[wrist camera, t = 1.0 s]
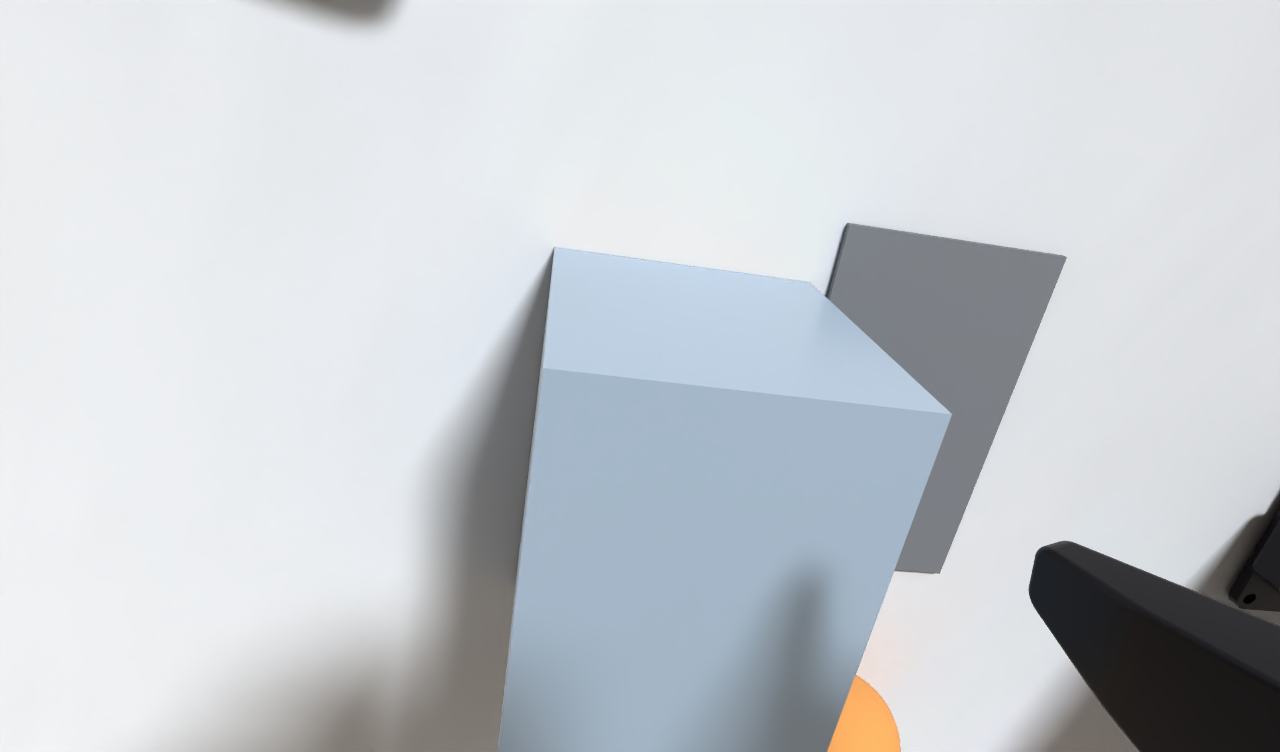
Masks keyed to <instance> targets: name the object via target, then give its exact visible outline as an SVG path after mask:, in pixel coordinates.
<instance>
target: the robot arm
mask: <svg viewBox="0 0 1280 752" xmlns="http://www.w3.org/2000/svg"><path fill="white" fill-rule="evenodd" d="M1029 596H1030V599H1031V602H1032V604H1033V606H1034V608H1035V609H1036V611H1037V612H1038V614H1039V615H1040V617H1041V618H1042V619H1043V621H1044V622H1045V624H1046V625H1047V627H1048V628H1049V630H1050V631H1051V633H1052V634H1053V635H1054V637H1055V638H1056V640H1057V641H1058V643H1059V644H1060V646H1061V647H1062V649H1063V650H1064V651H1065V653H1066V654H1067V656H1068V657H1069V659H1070V660H1071V662H1072V663H1073V665H1074V666H1075V668H1076V669H1077V670H1078V672H1079V673H1080V675H1081V676H1082V678H1083V679H1084V681H1085V682H1086V684H1087V685H1088V686H1089V688H1090V689H1091V691H1092V692H1093V694H1094V695H1095V696H1096V698H1097V699H1098V700H1099V702H1100V703H1101V704H1102V706H1103V707H1104V708H1105V710H1106V711H1107V712H1108V713H1109V715H1110V716H1111V717H1112V719H1113V720H1114V721H1115V722H1116V724H1117V725H1118V726H1119V727H1120V728H1121V730H1122V731H1123V732H1124V733H1125V734H1126V736H1127V737H1128V738H1129V739H1130V741H1131V742H1132V743H1133V744H1134V745H1135V747H1136V748H1137V749H1138V750H1139V751H1140V752H1280V625H1277V624H1275V623H1272V622H1270V621H1267V620H1265V619H1262V618H1260V617H1257V616H1255V615H1252V614H1250V613H1247V612H1245V611H1242V610H1240V609H1238V608H1235V607H1233V606H1230V605H1228V604H1225V603H1223V602H1220V601H1218V600H1215V599H1213V598H1210V597H1208V596H1205V595H1203V594H1200V593H1198V592H1195V591H1193V590H1190V589H1188V588H1186V587H1183V586H1181V585H1178V584H1176V583H1173V582H1171V581H1168V580H1166V579H1163V578H1161V577H1158V576H1156V575H1153V574H1151V573H1148V572H1146V571H1143V570H1141V569H1138V568H1136V567H1133V566H1131V565H1129V564H1126V563H1124V562H1121V561H1119V560H1116V559H1114V558H1111V557H1109V556H1106V555H1104V554H1101V553H1099V552H1096V551H1094V550H1091V549H1089V548H1086V547H1084V546H1081V545H1079V544H1077V543H1074V542H1070V541H1060V542H1057V543H1053V544H1050V545H1047V546H1044V547H1041V548H1040V549H1039V550H1038V551H1037V553H1036V555H1035V560H1034V565H1033V570H1032V575H1031V579H1030V584H1029ZM1228 596H1229V599H1230V600H1231V601H1232V602H1233V603H1234V604H1236V605H1237V606H1238V607H1239V608H1242V609H1251V610H1264V611H1277V612H1280V509H1279V511H1278V512H1277V514H1276V516H1275V517H1274V519H1273V521H1272V522H1271V524H1270V526H1269V527H1268V529H1267V531H1266V532H1265V534H1264V536H1263V537H1262V539H1261V541H1260V542H1259V544H1258V545H1257V547H1256V549H1255V550H1254V552H1253V554H1252V555H1251V557H1250V559H1249V560H1248V562H1247V564H1246V565H1245V567H1244V569H1243V570H1242V572H1241V574H1240V575H1239V577H1238V578H1237V580H1236V582H1235V583H1234V585H1233V587H1232V588H1231V590H1230V592H1229V595H1228Z"/></svg>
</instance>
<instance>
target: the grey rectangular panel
mask: <svg viewBox="0 0 1280 752" xmlns="http://www.w3.org/2000/svg"><path fill="white" fill-rule="evenodd" d="M1066 258H1067V257H1065V256H1062V255H1056V254H1049V253H1043V252H1036V251H1029V250H1023V249H1016V248H1010V247H1003V246H996V245H990V244H983V243H977V242H970V241H963V240H957V239H950V238H944V237H937V236H930V235H924V234H917V233H911V232H904V231H897V230H891V229H884V228H878V227H871V226H864V225H858V224H851V223H847V227H846V231H845V234H844V238H843V242H842V245H841V249H840V252H839V256H838V260H837V263H836V267H835V271H834V274H833V278H832V282H831V285H830V289H829V293H828V296H827V299H829V300H830V301H831V302H832V303H833V304H834V305H835V306H836V307H837V308H838V309H839V310H840V311H841V312H843V313H844V314H845V315H846V316H847V317H848V318H849V319H850V320H851V321H852V322H853V323H854V324H855V325H857V326H858V327H859V328H860V329H861V330H862V331H863V332H864V333H865V334H866V335H867V336H868V337H869V338H871V339H872V340H873V341H874V342H875V343H876V344H877V345H878V346H879V347H880V348H881V349H882V350H883V351H885V352H886V353H887V354H888V355H889V356H890V357H891V358H892V359H893V360H894V361H895V362H896V363H897V364H898V365H900V366H901V367H902V368H903V369H904V370H905V371H906V372H907V373H908V374H909V375H910V376H911V377H912V378H914V379H915V380H916V381H917V382H918V383H919V384H920V385H921V386H922V387H923V388H924V389H925V390H926V391H928V392H929V393H930V394H931V395H932V396H933V397H934V398H935V399H936V400H937V401H938V402H939V403H940V404H942V405H943V406H944V407H945V408H946V409H947V410H948V411H949V412H950V413H951V414H952V416H951V419H950V421H949V424H948V427H947V429H946V432H945V435H944V438H943V440H942V443H941V446H940V448H939V451H938V454H937V456H936V459H935V462H934V465H933V467H932V470H931V473H930V475H929V478H928V481H927V483H926V486H925V489H924V492H923V494H922V497H921V500H920V502H919V505H918V508H917V510H916V513H915V516H914V518H913V521H912V524H911V527H910V529H909V532H908V535H907V537H906V540H905V543H904V545H903V548H902V551H901V554H900V556H899V559H898V562H897V564H896V567H895V570H900V571H913V572H926V573H939V574H940V571H941V569H942V566H943V564H944V561H945V559H946V556H947V554H948V551H949V549H950V546H951V544H952V541H953V539H954V537H955V534H956V532H957V529H958V527H959V524H960V522H961V519H962V517H963V514H964V512H965V509H966V507H967V504H968V502H969V499H970V497H971V494H972V492H973V489H974V487H975V484H976V482H977V479H978V477H979V474H980V472H981V469H982V467H983V464H984V462H985V459H986V457H987V454H988V452H989V449H990V447H991V445H992V442H993V440H994V437H995V435H996V432H997V430H998V427H999V425H1000V422H1001V420H1002V417H1003V415H1004V412H1005V410H1006V407H1007V405H1008V402H1009V400H1010V397H1011V395H1012V392H1013V390H1014V387H1015V385H1016V382H1017V380H1018V377H1019V375H1020V372H1021V370H1022V367H1023V365H1024V362H1025V360H1026V357H1027V355H1028V353H1029V350H1030V348H1031V345H1032V343H1033V340H1034V338H1035V335H1036V333H1037V330H1038V328H1039V325H1040V323H1041V320H1042V318H1043V315H1044V313H1045V310H1046V308H1047V305H1048V303H1049V300H1050V298H1051V295H1052V293H1053V290H1054V288H1055V285H1056V283H1057V280H1058V278H1059V275H1060V273H1061V270H1062V268H1063V265H1064V263H1065V261H1066Z"/></svg>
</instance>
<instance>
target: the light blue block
mask: <svg viewBox="0 0 1280 752" xmlns="http://www.w3.org/2000/svg"><path fill="white" fill-rule="evenodd" d="M951 416H952V414H951V413H950V412H949V411H948V410H947V409H946V408H945V407H944V406H943V405H942V404H940V403H939V402H938V401H937V400H936V399H935V398H934V397H933V396H932V395H931V394H930V393H929V392H928V391H926V390H925V389H924V388H923V387H922V386H921V385H920V384H919V383H918V382H917V381H916V380H915V379H914V378H912V377H911V376H910V375H909V374H908V373H907V372H906V371H905V370H904V369H903V368H902V367H901V366H900V365H898V364H897V363H896V362H895V361H894V360H893V359H892V358H891V357H890V356H889V355H888V354H887V353H886V352H885V351H883V350H882V349H881V348H880V347H879V346H878V345H877V344H876V343H875V342H874V341H873V340H872V339H871V338H869V337H868V336H867V335H866V334H865V333H864V332H863V331H862V330H861V329H860V328H859V327H858V326H857V325H855V324H854V323H853V322H852V321H851V320H850V319H849V318H848V317H847V316H846V315H845V314H844V313H843V312H841V311H840V310H839V309H838V308H837V307H836V306H835V305H834V304H833V303H832V302H831V301H830V300H829V299H827V298H826V297H825V296H824V295H823V294H822V293H821V292H820V291H819V290H818V289H817V288H816V287H815V286H813V285H812V284H811V283H810V282H804V281H796V280H789V279H782V278H775V277H767V276H760V275H753V274H746V273H738V272H731V271H724V270H717V269H709V268H702V267H695V266H688V265H680V264H673V263H666V262H658V261H651V260H644V259H637V258H629V257H622V256H615V255H608V254H600V253H593V252H586V251H579V250H571V249H564V248H557V247H554V256H553V264H552V273H551V282H550V290H549V299H548V308H547V316H546V325H545V333H544V342H543V351H542V359H541V368H540V377H539V385H538V394H537V403H536V411H535V420H534V429H533V437H532V446H531V455H530V463H529V472H528V480H527V489H526V498H525V506H524V515H523V524H522V532H521V541H520V550H519V558H518V567H517V576H516V584H515V593H514V603H513V612H512V621H511V630H510V639H509V649H508V658H507V667H506V676H505V686H504V695H503V704H502V713H501V722H500V732H499V741H498V750H497V752H827V751H828V748H829V745H830V742H831V740H832V737H833V734H834V732H835V729H836V726H837V724H838V721H839V718H840V715H841V713H842V710H843V707H844V705H845V702H846V699H847V697H848V694H849V691H850V688H851V686H852V683H853V680H854V678H855V675H856V672H857V670H858V667H859V664H860V661H861V659H862V656H863V653H864V651H865V648H866V645H867V643H868V640H869V637H870V634H871V632H872V629H873V626H874V624H875V621H876V618H877V616H878V613H879V610H880V608H881V605H882V602H883V599H884V597H885V594H886V591H887V589H888V586H889V583H890V581H891V578H892V575H893V572H894V570H895V567H896V564H897V562H898V559H899V556H900V554H901V551H902V548H903V545H904V543H905V540H906V537H907V535H908V532H909V529H910V527H911V524H912V521H913V518H914V516H915V513H916V510H917V508H918V505H919V502H920V500H921V497H922V494H923V492H924V489H925V486H926V483H927V481H928V478H929V475H930V473H931V470H932V467H933V465H934V462H935V459H936V456H937V454H938V451H939V448H940V446H941V443H942V440H943V438H944V435H945V432H946V429H947V427H948V424H949V421H950V419H951Z"/></svg>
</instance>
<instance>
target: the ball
mask: <svg viewBox="0 0 1280 752" xmlns="http://www.w3.org/2000/svg"><path fill="white" fill-rule="evenodd" d="M827 752H901V751H900V739H899V734H898V730H897V726H896V723H895V721H894V718H893V716H892V713H891V711H890V710H889V708H888V706H887V704H886V703H885V701H884V700H883V699H882V697H881V696H880V695H879V694H878V692H877V691H876V690H875V689H874V688H873V687H871V686H870V685H869V684H868V683H867V682H866V681H864V680H863V679H861V678H860V677H858V676H857V675H855V678H854V680H853V683H852V686H851V688H850V691H849V694H848V697H847V699H846V702H845V705H844V707H843V710H842V713H841V715H840V718H839V721H838V724H837V726H836V729H835V732H834V734H833V737H832V740H831V742H830V745H829V748H828V751H827Z"/></svg>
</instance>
